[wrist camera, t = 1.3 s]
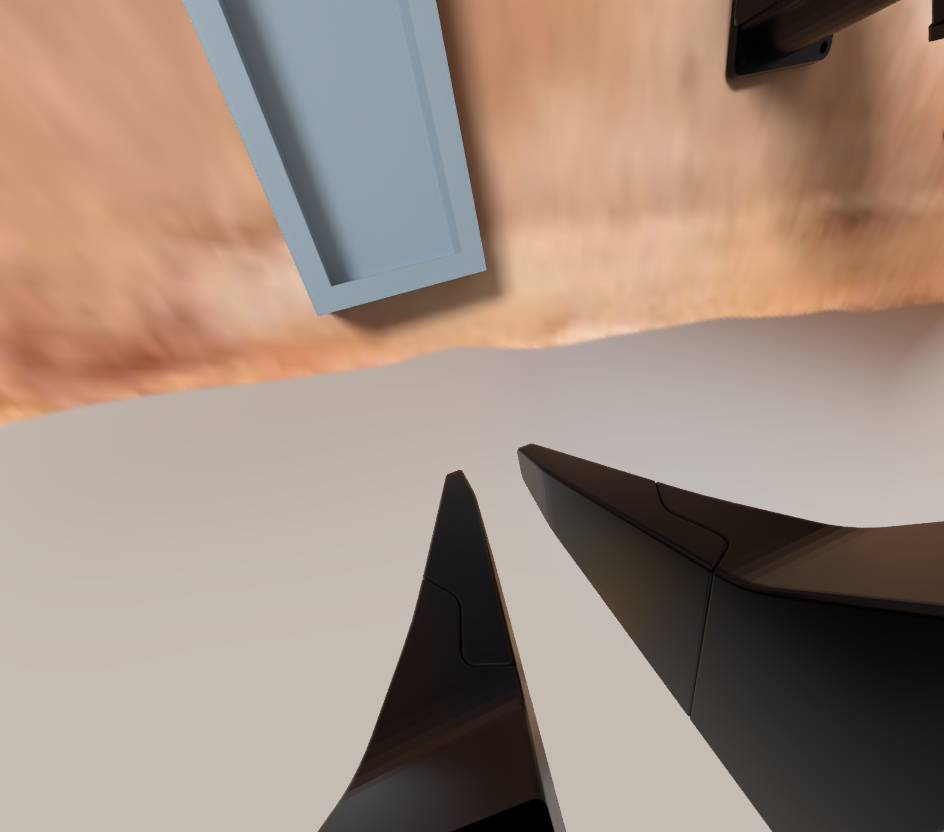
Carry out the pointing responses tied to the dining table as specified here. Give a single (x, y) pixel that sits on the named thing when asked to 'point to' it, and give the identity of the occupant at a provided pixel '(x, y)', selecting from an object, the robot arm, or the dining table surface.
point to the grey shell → (349, 139)
